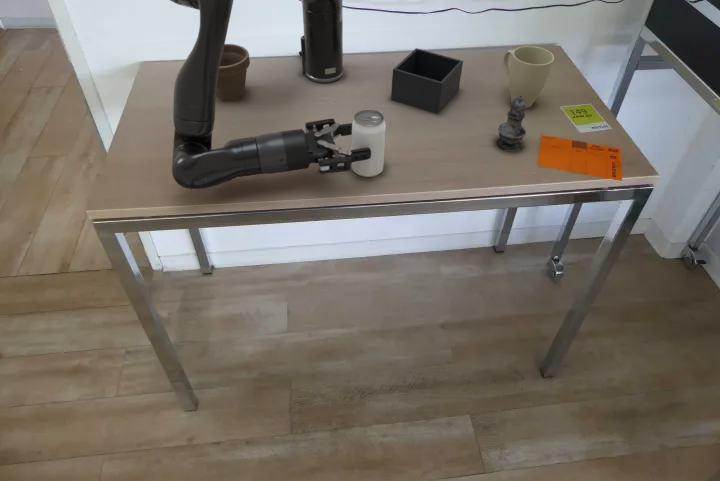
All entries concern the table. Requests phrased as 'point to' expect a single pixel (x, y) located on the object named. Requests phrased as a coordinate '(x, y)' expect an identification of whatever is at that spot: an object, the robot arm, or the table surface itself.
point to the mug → (527, 72)
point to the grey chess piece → (513, 126)
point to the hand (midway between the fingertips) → (364, 140)
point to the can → (369, 141)
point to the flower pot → (232, 72)
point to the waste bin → (426, 80)
